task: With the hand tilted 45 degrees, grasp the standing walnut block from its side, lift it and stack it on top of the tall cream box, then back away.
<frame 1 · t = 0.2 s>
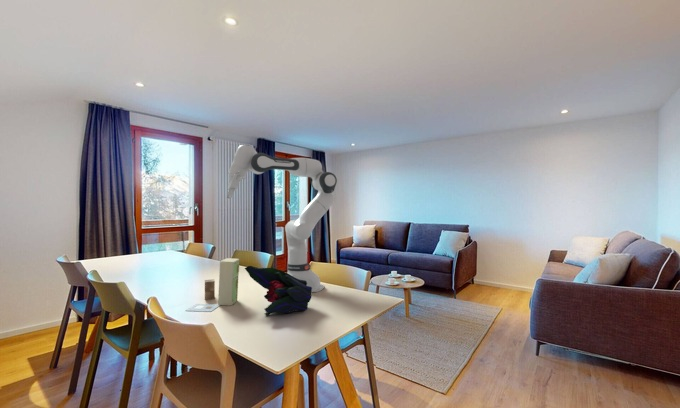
hand: (229, 197, 156), 52 cm above the table, tool tilted 20°, fingers open, 8 cm apart
walnut block: (209, 298, 152), on the table
tall cream box: (228, 303, 145), on the table, touching instruction page
instruction page: (203, 307, 138), on the table
decorative plant: (278, 312, 133), on the table
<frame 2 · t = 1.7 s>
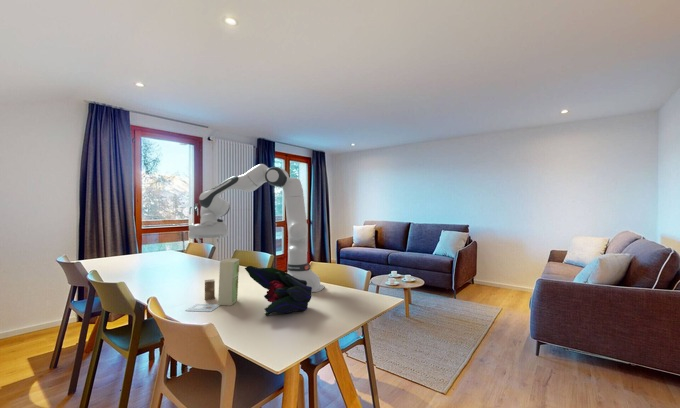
hand: (209, 242, 163), 27 cm above the table, tool tilted 45°, fingers open, 8 cm apart
nothing on the table moved.
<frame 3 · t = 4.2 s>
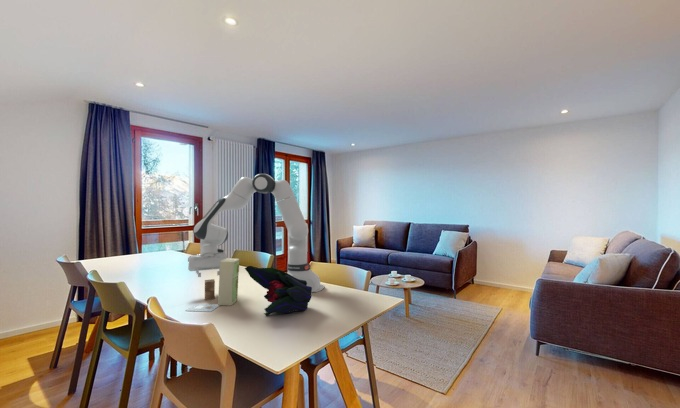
hand: (209, 275, 158), 10 cm above the table, tool tilted 45°, fingers open, 8 cm apart
nothing on the table moved.
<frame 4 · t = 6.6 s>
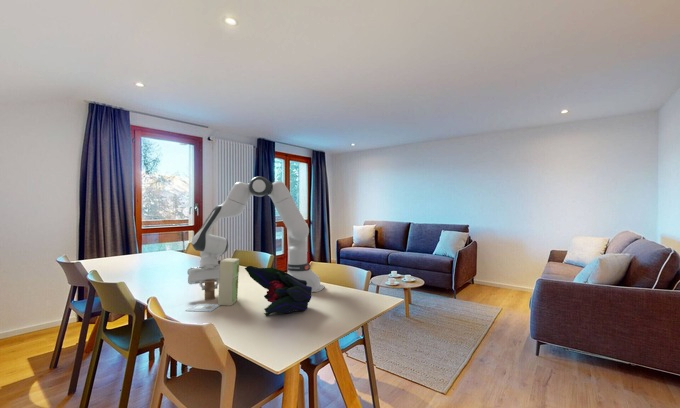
hand: (209, 288, 152), 5 cm above the table, tool tilted 45°, fingers closed on walnut block, 4 cm apart
walnut block: (209, 298, 152), on the table, touching gripper
everything else where it was.
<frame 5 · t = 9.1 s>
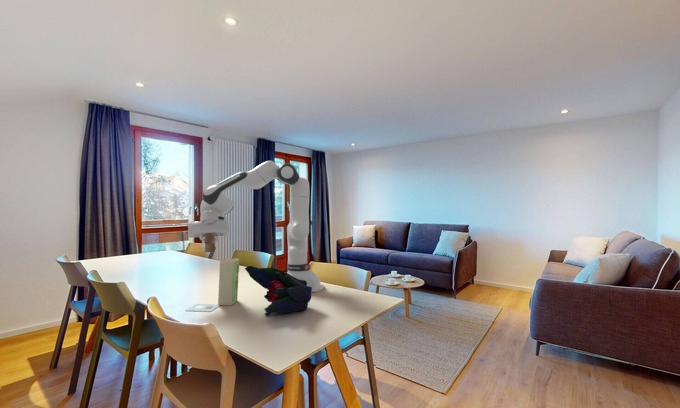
hand: (209, 241, 152), 29 cm above the table, tool tilted 45°, fingers closed on walnut block, 4 cm apart
walnut block: (209, 251, 152), point 24 cm above the table, touching gripper
everything else where it was.
when the fingers open (28 cm above the table, at t = 11.6 s): walnut block drops 2 cm, resting on tall cream box.
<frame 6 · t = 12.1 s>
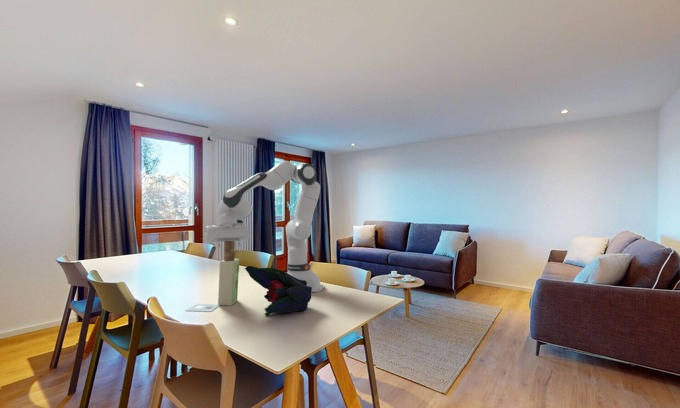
hand: (229, 246, 144), 28 cm above the table, tool tilted 45°, fingers open, 8 cm apart
walnut block: (228, 259, 145), point 21 cm above the table, touching tall cream box
tall cream box: (228, 303, 145), on the table, touching instruction page, walnut block
everything else where it was.
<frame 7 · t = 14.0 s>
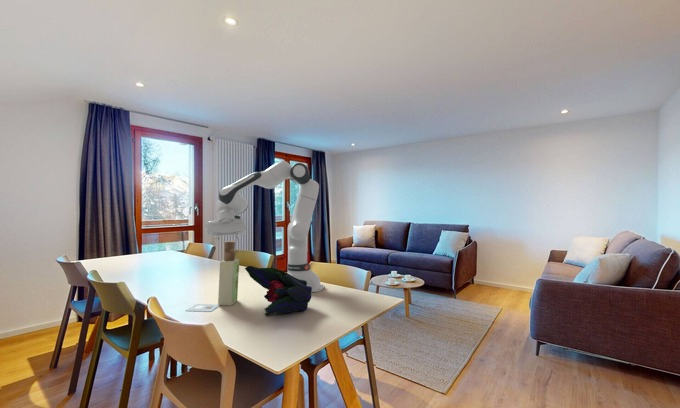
hand: (227, 240, 157), 29 cm above the table, tool tilted 45°, fingers open, 8 cm apart
nothing on the table moved.
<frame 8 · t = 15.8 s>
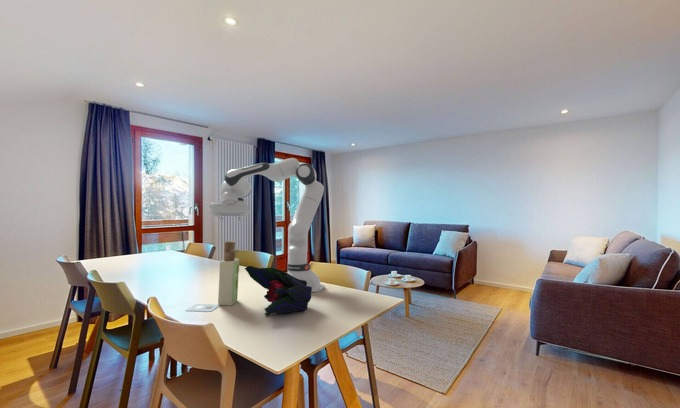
hand: (230, 220, 162), 39 cm above the table, tool tilted 45°, fingers open, 8 cm apart
nothing on the table moved.
at the end: walnut block inside the target area on the tall cream box (0.1 cm from its centre), point 21.2 cm above the tall cream box's base; walnut block tilted 2°; the gripper is holding nothing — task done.
